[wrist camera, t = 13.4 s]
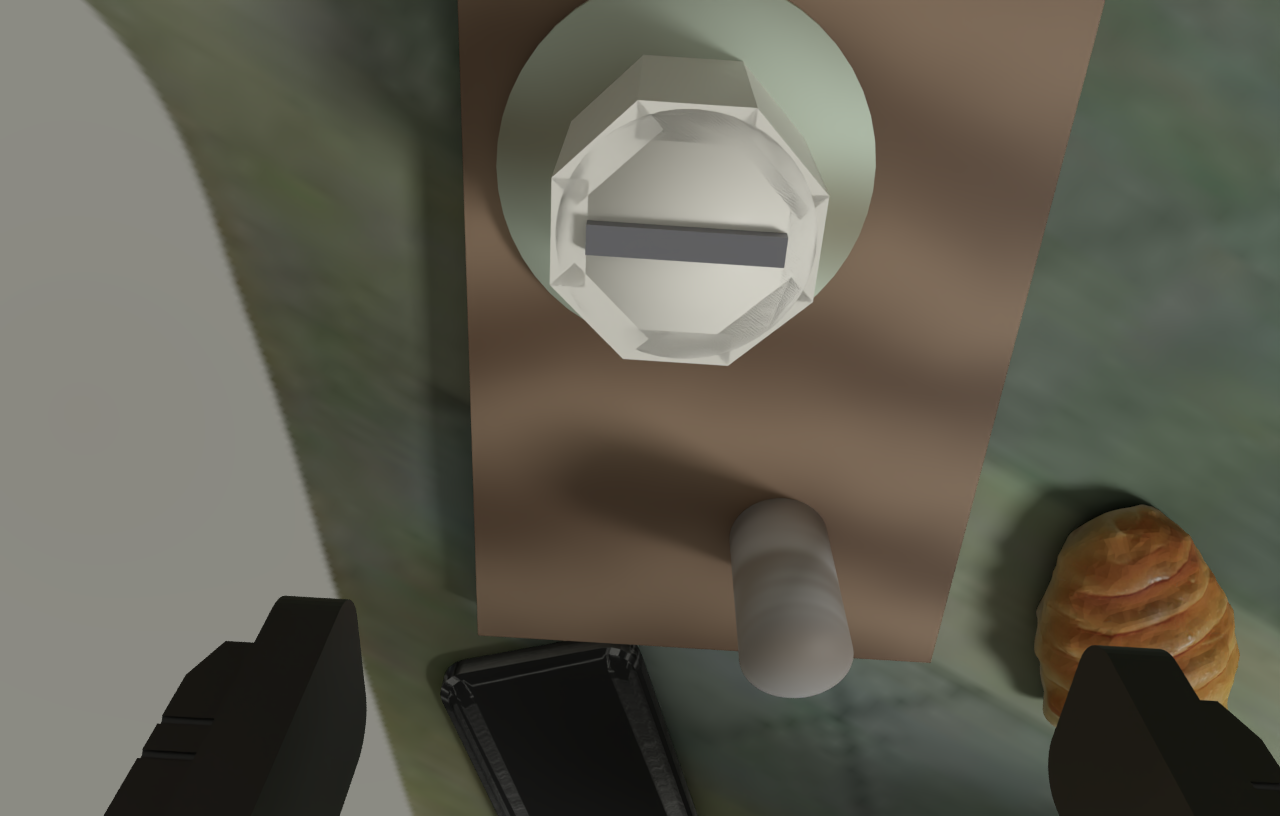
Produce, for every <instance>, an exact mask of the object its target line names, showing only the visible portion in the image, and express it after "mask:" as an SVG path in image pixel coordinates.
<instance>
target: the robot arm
mask: <svg viewBox="0 0 1280 816" xmlns="http://www.w3.org/2000/svg"><path fill="white" fill-rule="evenodd" d="M365 725H366V693H365V684H364V675H363V666H362V657H361V648H360V639H359V630H358V622H357V614H356V609H355V605H354V603H353V602H352V601H351V600H348V599H331V598H313V597H296V596H282V597H280V598H279V599H278V600H277V602H276V603H275V605H274V606H273V608H272V610H271V612H270V613H269V615H268V617H267V619H266V621H265V623H264V625H263V627H262V629H261V631H260V633H259V634H258V636H257V638H256V640H255V642H254V643H250V642H233V641H225V642H224V643H223V644H222V645H221V646H219V647H218V648H217V649H216V650H215V651H213V652H212V653H211V654H210V655H209V656H208V657H206V658H205V659H204V660H203V661H202V662H200V663H199V664H198V665H197V666H196V667H195V668H193V669H192V670H191V671H190V672H189V673H188V674H186V676H185V677H184V679H183V681H182V682H181V684H180V686H179V688H178V689H177V691H176V693H175V694H174V696H173V698H172V700H171V701H170V703H169V705H168V706H167V708H166V710H165V712H164V713H163V715H162V722H161V724H157V725H156V727H155V729H154V731H153V732H152V734H151V736H150V737H149V739H148V741H147V743H146V744H145V746H144V747H143V752H142V756H141V758H137V759H136V761H135V763H134V765H133V766H132V768H131V770H130V771H129V773H128V775H127V777H126V778H125V780H124V782H123V783H122V785H121V787H120V789H119V790H118V792H117V794H116V795H115V797H114V799H113V801H112V802H111V804H110V806H109V807H108V809H107V811H106V812H105V814H104V816H340V813H341V810H342V807H343V804H344V801H345V798H346V796H347V793H348V790H349V787H350V784H351V781H352V778H353V775H354V772H355V769H356V766H357V763H358V760H359V757H360V753H361V749H362V745H363V739H364V733H365ZM1048 771H1049V782H1050V788H1051V792H1052V796H1053V800H1054V803H1055V806H1056V808H1057V811H1058V813H1059V816H1280V767H1279V765H1278V764H1277V762H1276V761H1275V759H1274V758H1273V756H1272V755H1271V753H1270V752H1269V750H1268V749H1267V747H1266V746H1265V744H1264V743H1263V741H1262V740H1261V739H1260V738H1259V737H1258V736H1257V735H1256V734H1255V733H1253V732H1252V731H1251V730H1250V729H1249V728H1248V727H1247V726H1245V725H1244V724H1243V723H1242V722H1241V721H1240V720H1239V719H1237V718H1236V717H1235V716H1234V715H1233V714H1232V713H1231V712H1229V711H1228V710H1227V709H1226V708H1225V707H1224V706H1223V705H1222V704H1220V703H1219V702H1218V701H1209V700H1200V699H1199V697H1198V696H1197V694H1196V693H1195V691H1194V689H1193V688H1192V686H1191V684H1190V683H1189V681H1188V680H1187V678H1186V676H1185V675H1184V673H1183V671H1182V670H1181V668H1180V667H1179V665H1178V663H1177V662H1176V660H1175V659H1174V658H1173V656H1172V655H1171V654H1170V653H1168V652H1167V651H1165V650H1163V649H1155V648H1137V647H1120V646H1103V645H1091V646H1090V647H1088V648H1087V649H1086V650H1085V651H1084V653H1083V654H1082V656H1081V658H1080V661H1079V664H1078V667H1077V669H1076V672H1075V675H1074V678H1073V681H1072V684H1071V686H1070V689H1069V692H1068V695H1067V698H1066V701H1065V704H1064V706H1063V709H1062V712H1061V715H1060V718H1059V721H1058V723H1057V726H1056V729H1055V732H1054V735H1053V738H1052V741H1051V744H1050V749H1049V758H1048Z"/></svg>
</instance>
